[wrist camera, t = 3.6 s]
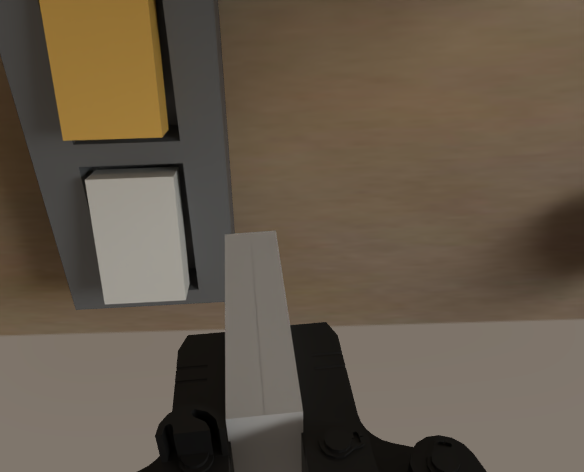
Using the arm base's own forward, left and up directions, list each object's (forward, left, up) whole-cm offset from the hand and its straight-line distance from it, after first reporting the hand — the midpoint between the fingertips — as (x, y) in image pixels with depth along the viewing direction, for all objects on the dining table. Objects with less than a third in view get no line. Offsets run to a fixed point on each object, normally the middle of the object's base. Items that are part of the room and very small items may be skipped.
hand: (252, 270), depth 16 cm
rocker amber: (-2, -7, -17) cm, 18 cm away
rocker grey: (+9, -7, -17) cm, 20 cm away
